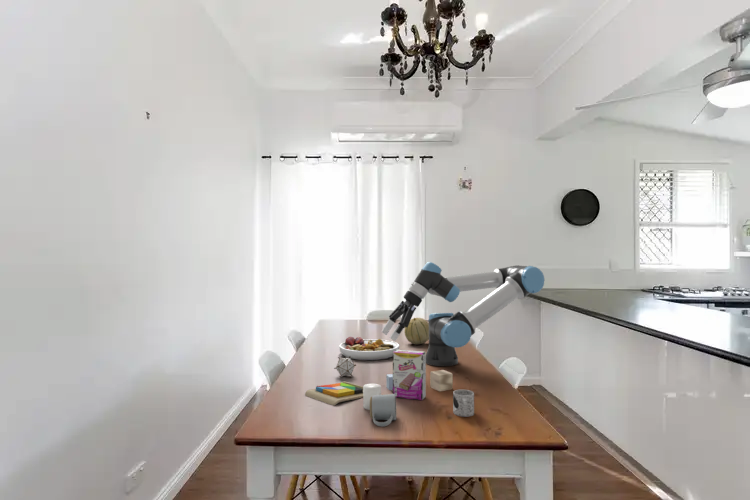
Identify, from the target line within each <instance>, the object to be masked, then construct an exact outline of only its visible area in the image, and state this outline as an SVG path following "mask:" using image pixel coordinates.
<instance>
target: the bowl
mask: <svg viewBox="0 0 750 500" xmlns="http://www.w3.org/2000/svg"><path fill="white" fill-rule="evenodd" d="M397 349H398V350H400V344H399V343H398V342H396V341H394V340H388V339H387V340H386V339H381V338H378V339H375V338H373V339H372V338H367V339H363V338H362V337H361V336H358V337H356V338H355V337H353V336H348V337H346V339H345V341H344V342H342V343H340V344H339V351H340V354H341V355H342V356H344V357H345V358H349V356H350V359H351V360H352V359H353V360H359V361H360V360H361V361H379V360H386V359H390V358H393V352H394V351H395V350H397Z"/></svg>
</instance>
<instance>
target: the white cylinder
mask: <svg viewBox="0 0 750 500" xmlns="http://www.w3.org/2000/svg"><path fill="white" fill-rule="evenodd" d="M362 387H363V397H362V399H363V400H362V401H363V402H362V405H363V409H365V410H368V411H370V398H371V397H372V396H375V395H382V385H381V384H377V383H366V384H363V386H362Z"/></svg>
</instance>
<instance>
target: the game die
mask: <svg viewBox="0 0 750 500" xmlns="http://www.w3.org/2000/svg"><path fill="white" fill-rule="evenodd" d="M337 358H338V361H337V363H336V367H334V368H333V369H334V370H336V371H337V372H338V373H339V375H340V376H339V378H340V379H341V378H342V377H343V376H345V377H346V376H351V377H353V371H354V368H355V367H356V366H357V364H354V362H353V360H352V359H351V358H350V356H349V358H348V357H343V358H342V357H341V358H340V357H339V356H338V357H337Z"/></svg>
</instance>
